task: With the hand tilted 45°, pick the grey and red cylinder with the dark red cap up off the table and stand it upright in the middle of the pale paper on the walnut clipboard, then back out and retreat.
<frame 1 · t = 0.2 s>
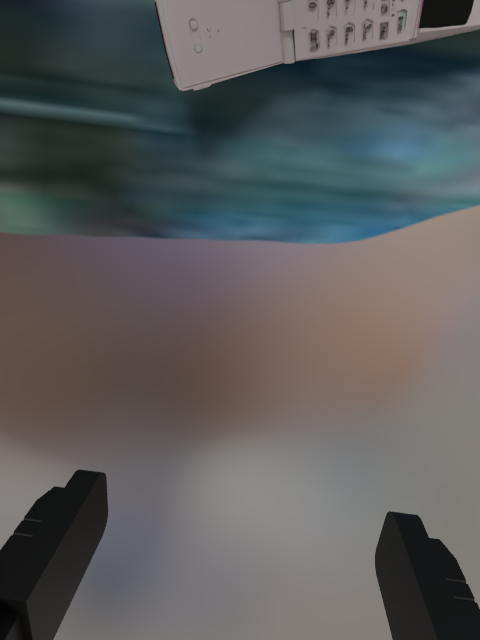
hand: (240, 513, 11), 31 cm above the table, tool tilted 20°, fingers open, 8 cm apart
mobile phone: (349, 1, 27), on the table
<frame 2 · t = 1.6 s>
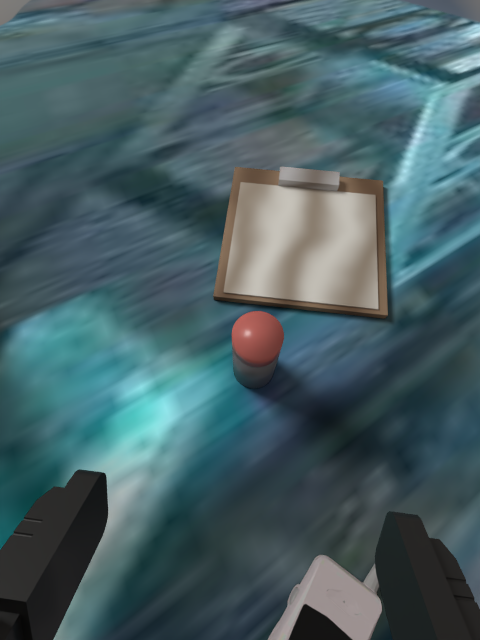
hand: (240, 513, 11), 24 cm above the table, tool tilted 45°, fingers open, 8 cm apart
clipboard: (303, 238, 44), on the table
grey and red cylinder: (253, 368, 38), on the table
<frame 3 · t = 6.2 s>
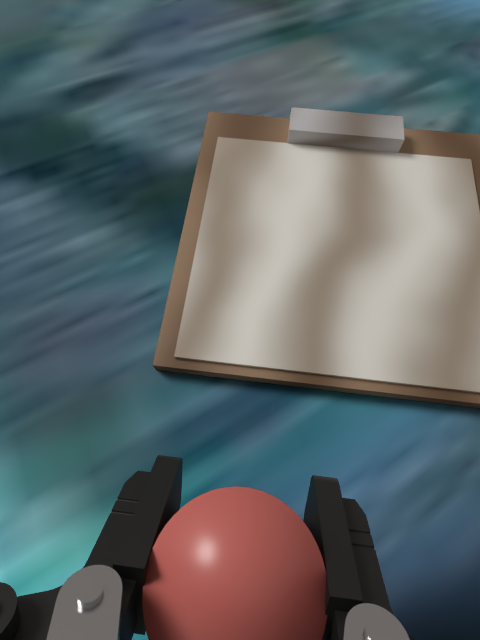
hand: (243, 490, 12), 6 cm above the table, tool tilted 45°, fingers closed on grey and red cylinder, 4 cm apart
clipboard: (337, 241, 23), on the table
grey and red cylinder: (236, 539, 17), on the table, touching gripper
when the fingers open (8 cm above the table, at t = 13.7 s): grey and red cylinder stays where it is, resting on clipboard.
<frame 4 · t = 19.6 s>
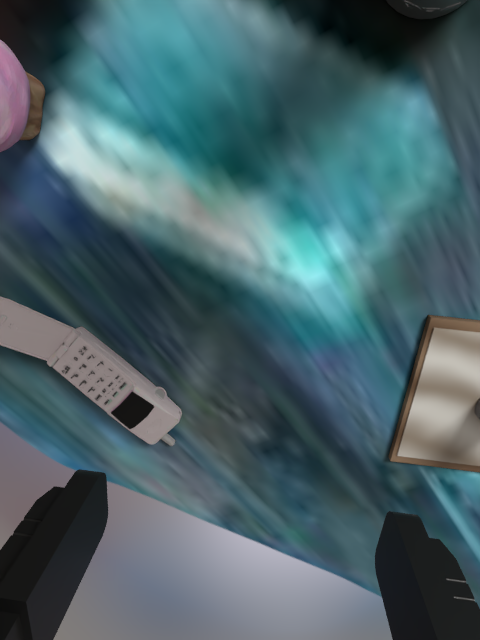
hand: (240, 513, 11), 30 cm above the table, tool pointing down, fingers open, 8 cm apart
mobile phone: (104, 364, 45), on the table
cupcake: (22, 104, 36), on the table
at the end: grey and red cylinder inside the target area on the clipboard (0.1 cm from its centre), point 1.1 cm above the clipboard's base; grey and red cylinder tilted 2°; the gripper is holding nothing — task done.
